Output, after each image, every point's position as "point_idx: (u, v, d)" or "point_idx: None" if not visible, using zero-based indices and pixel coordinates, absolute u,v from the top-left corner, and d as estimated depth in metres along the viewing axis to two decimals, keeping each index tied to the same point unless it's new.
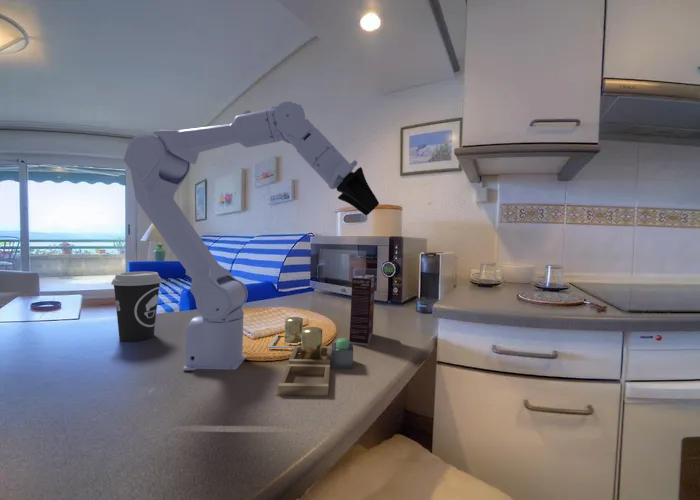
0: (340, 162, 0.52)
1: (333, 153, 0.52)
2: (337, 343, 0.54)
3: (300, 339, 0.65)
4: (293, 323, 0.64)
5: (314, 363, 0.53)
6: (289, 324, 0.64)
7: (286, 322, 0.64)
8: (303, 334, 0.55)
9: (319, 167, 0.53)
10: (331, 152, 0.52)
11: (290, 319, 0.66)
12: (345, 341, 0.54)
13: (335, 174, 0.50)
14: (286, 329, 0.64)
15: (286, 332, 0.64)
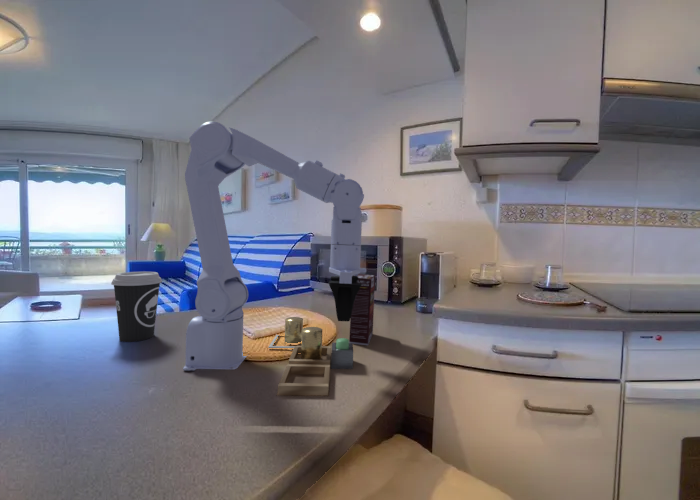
0: (352, 263, 0.52)
1: (354, 251, 0.52)
2: (337, 343, 0.54)
3: (300, 339, 0.65)
4: (293, 323, 0.64)
5: (314, 363, 0.53)
6: (289, 324, 0.64)
7: (286, 322, 0.64)
8: (303, 334, 0.55)
9: (334, 250, 0.52)
10: (353, 249, 0.52)
11: (290, 319, 0.66)
12: (345, 341, 0.54)
13: (337, 272, 0.49)
14: (286, 329, 0.64)
15: (286, 332, 0.64)
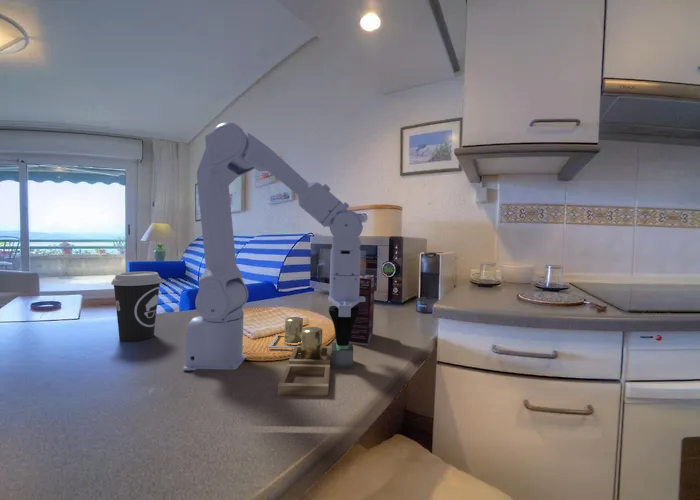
0: (351, 293, 0.52)
1: (353, 282, 0.52)
2: (337, 347, 0.54)
3: (300, 339, 0.65)
4: (293, 323, 0.64)
5: (314, 363, 0.53)
6: (289, 324, 0.64)
7: (286, 322, 0.64)
8: (303, 334, 0.55)
9: (333, 281, 0.53)
10: (352, 280, 0.52)
11: (290, 319, 0.66)
12: None
13: (337, 304, 0.49)
14: (286, 329, 0.64)
15: (286, 332, 0.64)
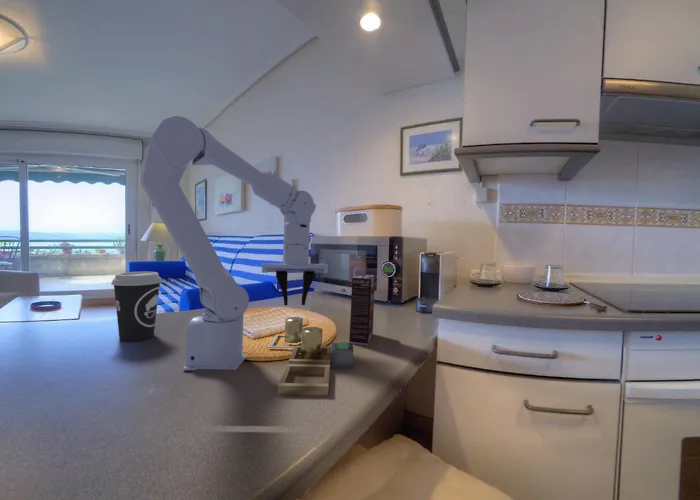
0: (284, 259, 0.63)
1: (285, 249, 0.63)
2: (337, 347, 0.54)
3: (300, 339, 0.65)
4: (293, 323, 0.64)
5: (314, 363, 0.53)
6: (289, 324, 0.64)
7: (286, 322, 0.64)
8: (303, 334, 0.55)
9: None
10: (284, 248, 0.63)
11: (290, 319, 0.66)
12: (345, 345, 0.54)
13: None
14: (286, 329, 0.64)
15: (286, 332, 0.64)
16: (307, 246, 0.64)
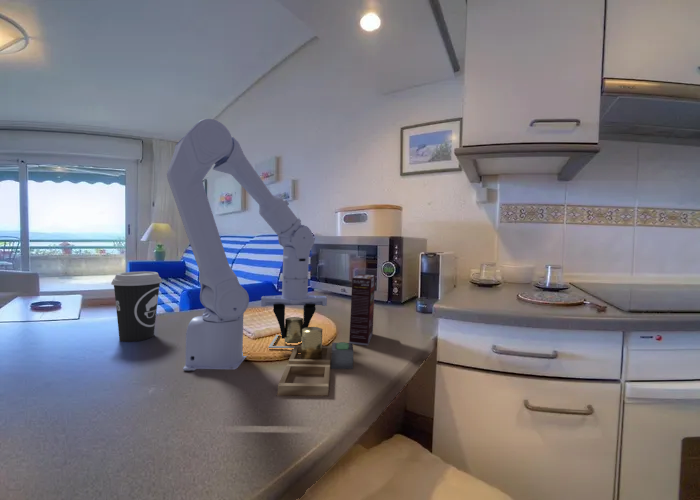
0: (283, 292, 0.64)
1: (284, 283, 0.63)
2: (337, 347, 0.54)
3: (300, 339, 0.65)
4: (293, 323, 0.64)
5: (314, 363, 0.53)
6: (289, 324, 0.64)
7: (286, 322, 0.64)
8: (303, 334, 0.55)
9: None
10: (283, 282, 0.64)
11: (290, 319, 0.66)
12: (345, 345, 0.54)
13: (271, 297, 0.66)
14: (286, 329, 0.64)
15: (286, 332, 0.64)
16: (306, 279, 0.64)
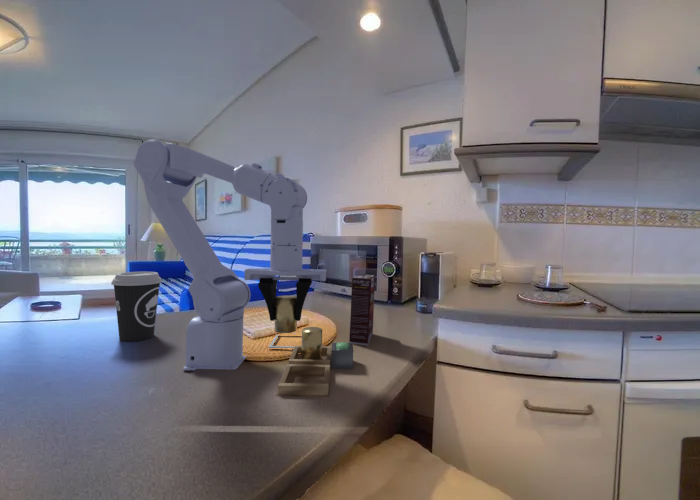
0: (270, 263, 0.51)
1: (271, 252, 0.51)
2: (337, 347, 0.54)
3: (293, 322, 0.52)
4: (283, 301, 0.51)
5: (314, 363, 0.53)
6: (279, 303, 0.51)
7: (275, 300, 0.52)
8: (303, 334, 0.55)
9: None
10: (271, 250, 0.51)
11: (282, 297, 0.53)
12: (345, 345, 0.54)
13: None
14: (275, 309, 0.52)
15: (275, 313, 0.52)
16: (299, 247, 0.51)
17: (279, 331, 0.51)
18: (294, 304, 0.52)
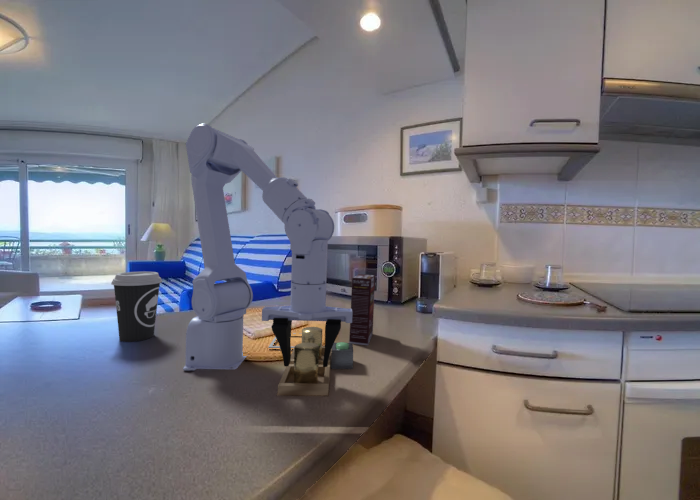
0: (291, 303, 0.46)
1: (292, 290, 0.45)
2: (337, 347, 0.54)
3: (314, 376, 0.46)
4: (304, 353, 0.45)
5: None
6: (299, 355, 0.45)
7: (295, 351, 0.46)
8: (303, 334, 0.55)
9: None
10: (291, 287, 0.46)
11: (302, 346, 0.47)
12: (345, 345, 0.54)
13: (277, 307, 0.48)
14: (295, 361, 0.46)
15: (295, 365, 0.46)
16: (323, 285, 0.46)
17: None
18: (316, 355, 0.46)
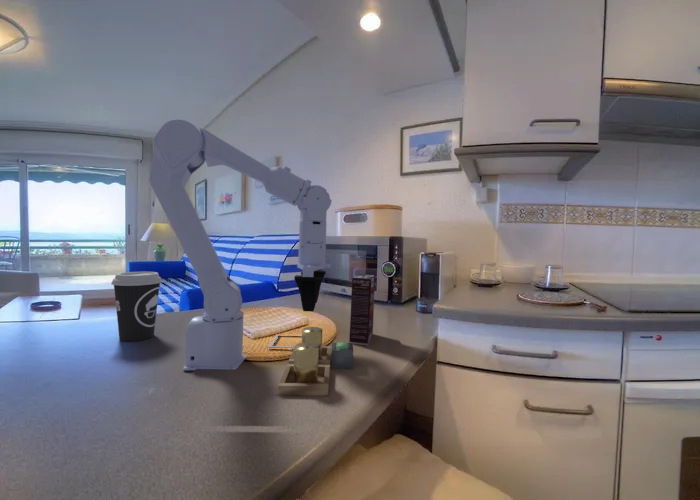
0: (316, 259, 0.59)
1: (318, 249, 0.59)
2: (337, 347, 0.54)
3: (314, 376, 0.46)
4: (304, 353, 0.45)
5: None
6: (299, 355, 0.45)
7: (295, 351, 0.46)
8: (303, 334, 0.55)
9: (301, 248, 0.59)
10: (317, 247, 0.59)
11: (302, 346, 0.47)
12: (345, 345, 0.54)
13: (302, 267, 0.56)
14: (295, 361, 0.46)
15: (295, 365, 0.46)
16: None
17: None
18: (316, 355, 0.46)
